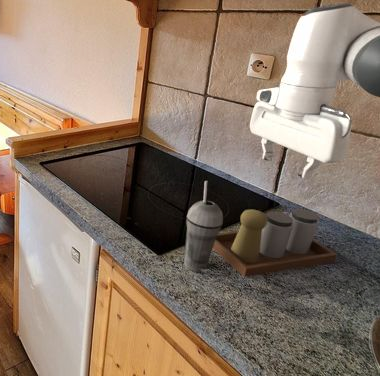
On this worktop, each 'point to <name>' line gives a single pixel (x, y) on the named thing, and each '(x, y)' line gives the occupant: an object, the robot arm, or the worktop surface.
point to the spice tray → (267, 264)
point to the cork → (249, 236)
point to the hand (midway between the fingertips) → (285, 168)
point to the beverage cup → (201, 232)
